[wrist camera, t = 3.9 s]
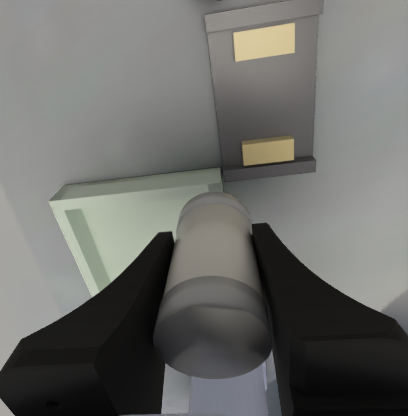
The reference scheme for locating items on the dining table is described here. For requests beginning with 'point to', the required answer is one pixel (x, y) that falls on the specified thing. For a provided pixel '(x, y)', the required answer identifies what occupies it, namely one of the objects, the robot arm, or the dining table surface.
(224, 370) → the fuse
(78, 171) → the dining table surface
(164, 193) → the tray
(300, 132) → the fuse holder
